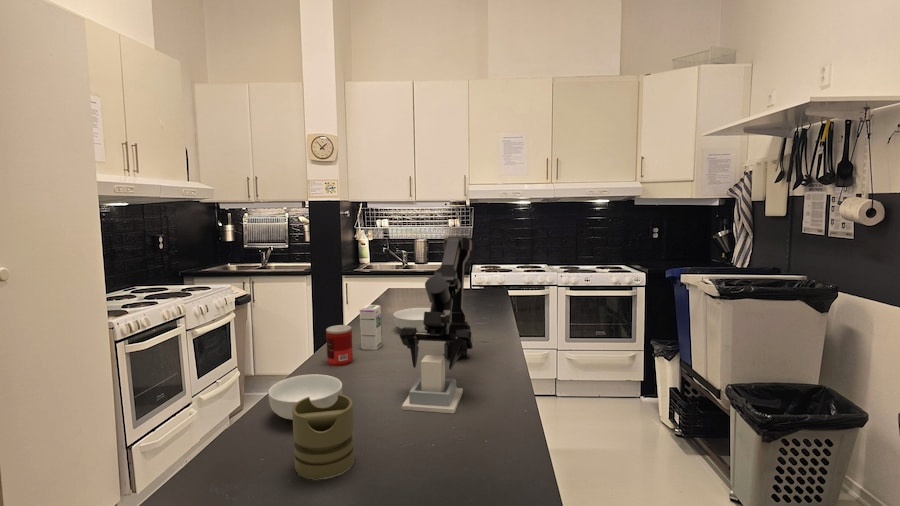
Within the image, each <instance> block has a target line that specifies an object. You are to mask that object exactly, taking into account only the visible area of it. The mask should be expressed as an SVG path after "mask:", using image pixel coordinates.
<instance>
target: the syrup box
mask: <svg viewBox="0 0 900 506" xmlns="http://www.w3.org/2000/svg"><path fill="white" fill-rule="evenodd" d="M381 308H382V307H381V305H379V304H365V305H364V306H363V307H361V308H359V325H360V341H361V342H360V345H361V346H360V347H361V350H366V351H378V349H379V348H381V347H382V346H383V345H384V344H383V329H382V328H383V327H382V309H381Z"/></svg>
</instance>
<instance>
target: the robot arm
mask: <svg viewBox="0 0 900 506" xmlns="http://www.w3.org/2000/svg"><path fill="white" fill-rule="evenodd" d="M472 249H473V241H472V239H471V238H469V236H457V235H456V236H453V235H452V236H450V235H449V236H446V237H445V238H444V239H443V250H444V252H443V257H442V260H441V264H440V267H439V268H437V269H436V270H435V271H434V274H433V275H432V276H430V277H429V278H428V279H427V280H426V281H425V282H424V288H425V291H426V294H427V297H428V300H429V303H430V304H431V305H430V308H431V310H430V312H424V321H423V325H425V327H424V328H425V330H427V333H418V332H417V329H416V328H414V327H403V328H402V329H401V328H400V330H399V334H398V335H399V339H400V340H401V343H402V344H403V345H404V346H406V347H407V349H410V354H411V363H412V367H413V368H414V369H415V368H416V367H417V363H418V356H419V343H420V341H426V342H427V341H428V342H445V343H443V344H444V347H443V350H444V353H443V356H445V358H447V359H448V360H449V365H448V369H449V370H450V371H451V370H452V369H453V367H454V366H455V364H456V363H457V361H460V360H466V359H470V355H468V350H472V349H473V348H474V337H473V332H472V330H471V325H470V323H469V321H468V315H467V314H466V312H465V310H464V308H463V307H464V306H463V305H464V284H465V283H464V282H465V264H466V262H467V261H468V260H469V258H470V257H471V256H470V254H471V252H472Z"/></svg>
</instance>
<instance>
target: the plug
mask: <svg viewBox="0 0 900 506" xmlns="http://www.w3.org/2000/svg"><path fill="white" fill-rule="evenodd" d="M445 359H446V357H445V356H444V355H430V354H425V355H424V357H423V358H422V360H421V361H420V377H421V391H428V392H443V393H445V379H446V364H445V362H446V361H445Z"/></svg>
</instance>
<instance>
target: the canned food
mask: <svg viewBox="0 0 900 506" xmlns="http://www.w3.org/2000/svg"><path fill="white" fill-rule="evenodd" d="M352 329H353V328H352V326H351V325H348V324H347V325H346V324H338V325H332V326H328V327H327V328H326V329H325V333H326V334H325V339H326V356H327V357H326V359H327V363H328V365H329V366H332V367H333V366H334V367H340V366H341V367H342V366H346V364H347V365H349V364H351V363H352V362H353V359H354V358H353V357H354V356H353V355H354V354H353V331H352Z"/></svg>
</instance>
